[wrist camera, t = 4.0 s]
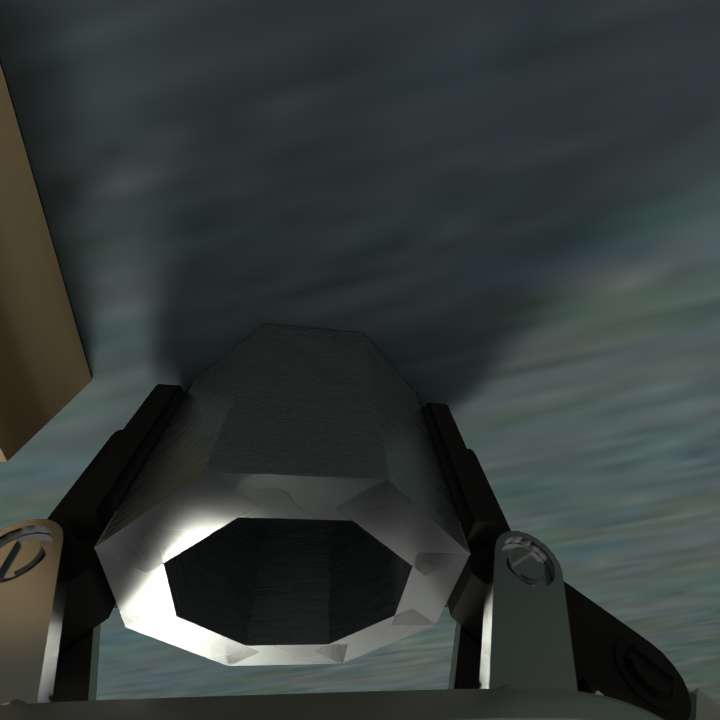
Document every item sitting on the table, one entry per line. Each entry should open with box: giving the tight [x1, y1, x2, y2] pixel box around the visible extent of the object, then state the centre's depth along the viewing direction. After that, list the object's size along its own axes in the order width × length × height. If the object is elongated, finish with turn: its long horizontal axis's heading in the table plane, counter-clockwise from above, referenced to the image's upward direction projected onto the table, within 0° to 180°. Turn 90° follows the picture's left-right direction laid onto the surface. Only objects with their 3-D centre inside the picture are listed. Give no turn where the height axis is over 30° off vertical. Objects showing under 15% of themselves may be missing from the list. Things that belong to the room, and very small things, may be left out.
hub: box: [94, 324, 471, 666], centre depth 9 cm, size 6×6×5 cm
